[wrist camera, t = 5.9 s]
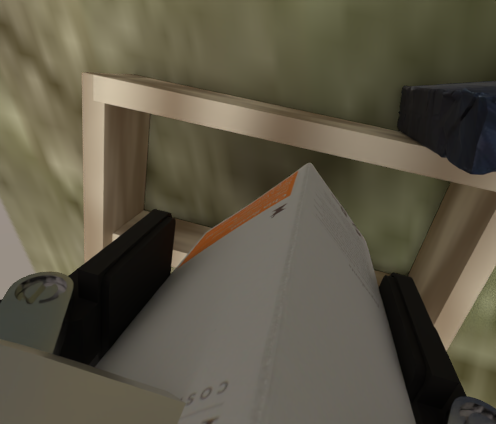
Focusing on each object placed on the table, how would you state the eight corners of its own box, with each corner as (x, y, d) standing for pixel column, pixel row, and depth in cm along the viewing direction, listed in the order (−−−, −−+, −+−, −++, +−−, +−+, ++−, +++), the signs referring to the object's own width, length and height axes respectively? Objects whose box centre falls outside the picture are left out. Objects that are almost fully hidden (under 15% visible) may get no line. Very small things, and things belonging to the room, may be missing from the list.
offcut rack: (489, 150, 18) (548, 173, 14) (373, 389, 26) (386, 455, 21) (134, 74, 20) (82, 72, 16) (123, 314, 28) (85, 360, 23)
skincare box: (309, 156, 13) (252, 518, 2) (367, 238, 14) (553, 836, 3) (199, 231, 15) (-108, 598, 4) (254, 299, 16) (110, 762, 5)
